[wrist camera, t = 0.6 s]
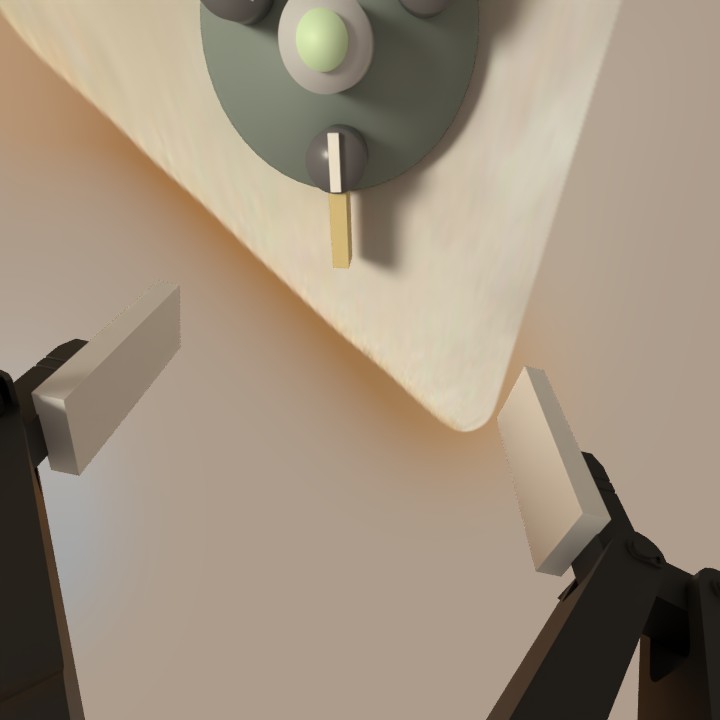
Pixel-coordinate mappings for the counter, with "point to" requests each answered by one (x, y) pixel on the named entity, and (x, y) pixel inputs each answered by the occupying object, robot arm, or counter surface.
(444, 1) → the knob
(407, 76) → the tribrach plate
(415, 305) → the counter surface
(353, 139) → the knob
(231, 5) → the knob
